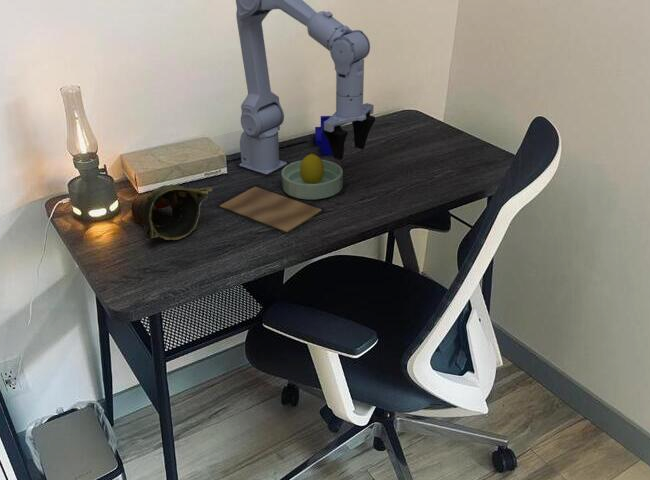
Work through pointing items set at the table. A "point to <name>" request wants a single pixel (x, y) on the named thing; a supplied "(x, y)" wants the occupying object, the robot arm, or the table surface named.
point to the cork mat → (271, 209)
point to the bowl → (302, 190)
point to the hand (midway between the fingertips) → (348, 153)
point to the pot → (177, 200)
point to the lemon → (312, 169)
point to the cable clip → (322, 138)
